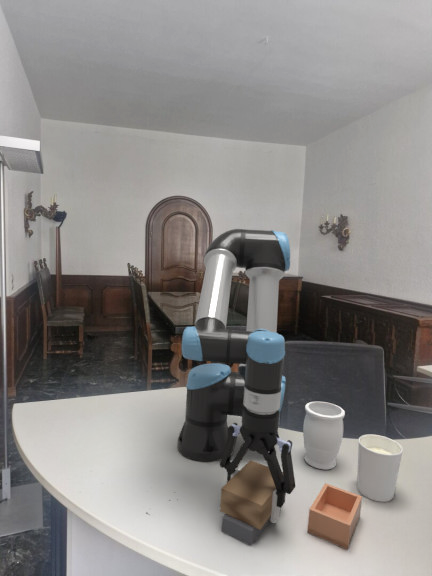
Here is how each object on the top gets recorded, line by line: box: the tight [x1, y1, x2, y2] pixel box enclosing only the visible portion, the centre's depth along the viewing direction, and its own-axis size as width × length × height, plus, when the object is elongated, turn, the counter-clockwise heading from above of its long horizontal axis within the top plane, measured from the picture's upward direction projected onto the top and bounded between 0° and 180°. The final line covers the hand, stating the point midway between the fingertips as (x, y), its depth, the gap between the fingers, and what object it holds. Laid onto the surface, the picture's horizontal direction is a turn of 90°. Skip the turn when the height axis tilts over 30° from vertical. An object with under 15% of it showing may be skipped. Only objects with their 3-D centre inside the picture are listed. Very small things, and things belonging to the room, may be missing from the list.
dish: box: [307, 483, 363, 551], centre depth 83 cm, size 8×11×5 cm
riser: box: [221, 513, 271, 546], centre depth 84 cm, size 7×15×3 cm, turn 149°
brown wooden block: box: [219, 459, 287, 530], centre depth 84 cm, size 9×13×5 cm
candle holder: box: [356, 433, 404, 503], centre depth 95 cm, size 10×10×12 cm
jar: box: [302, 401, 346, 471], centre depth 107 cm, size 11×10×15 cm
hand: (253, 509), depth 84 cm, fingers closed on brown wooden block, 9 cm apart
